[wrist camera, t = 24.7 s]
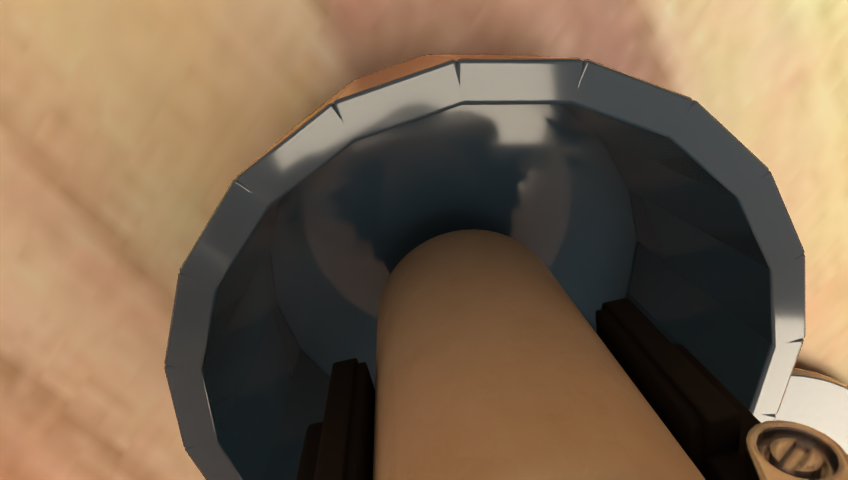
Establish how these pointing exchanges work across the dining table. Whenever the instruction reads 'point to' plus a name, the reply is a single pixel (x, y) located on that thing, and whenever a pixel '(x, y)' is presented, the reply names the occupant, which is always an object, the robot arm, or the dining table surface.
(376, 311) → the bowl
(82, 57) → the dining table surface
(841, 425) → the lid
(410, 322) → the candle
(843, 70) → the dining table surface
